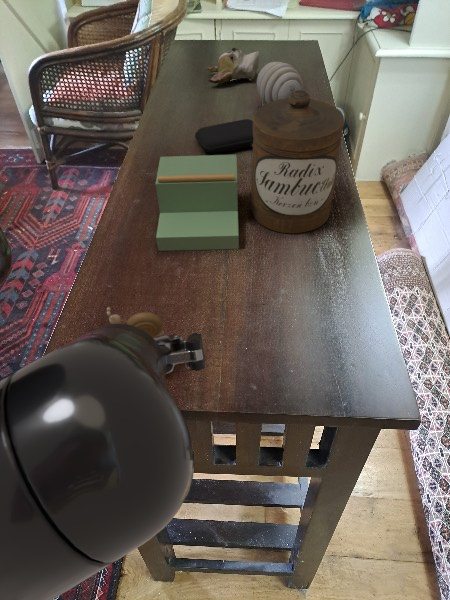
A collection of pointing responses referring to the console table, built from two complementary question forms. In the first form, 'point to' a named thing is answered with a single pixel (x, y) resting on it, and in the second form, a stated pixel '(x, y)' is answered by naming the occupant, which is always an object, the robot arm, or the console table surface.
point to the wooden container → (295, 162)
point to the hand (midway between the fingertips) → (133, 350)
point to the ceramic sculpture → (235, 66)
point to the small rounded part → (141, 322)
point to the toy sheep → (277, 82)
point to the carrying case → (226, 136)
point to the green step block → (197, 203)
